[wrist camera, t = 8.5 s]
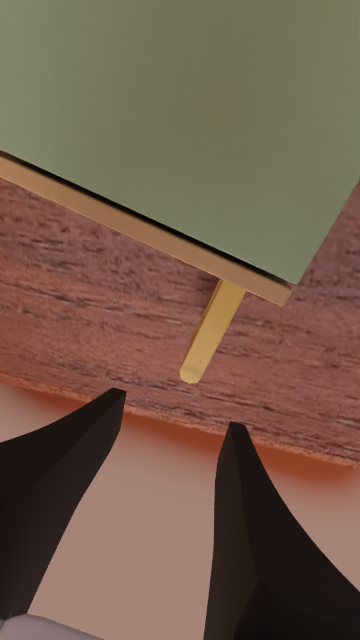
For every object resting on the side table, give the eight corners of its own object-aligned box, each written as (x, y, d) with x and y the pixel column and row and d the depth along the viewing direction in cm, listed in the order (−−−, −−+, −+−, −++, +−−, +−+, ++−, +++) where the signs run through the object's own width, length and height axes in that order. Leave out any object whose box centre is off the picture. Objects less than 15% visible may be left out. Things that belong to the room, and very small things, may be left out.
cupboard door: (224, 348, 22) (218, 418, 14) (46, 264, 23) (-52, 289, 15) (271, 261, 20) (293, 290, 12) (70, 170, 20) (-34, 140, 12)
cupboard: (272, 258, 20) (297, 285, 12) (72, 166, 20) (-36, 133, 12) (365, 85, 16) (492, -45, 8) (119, -22, 17) (10, -245, 9)
